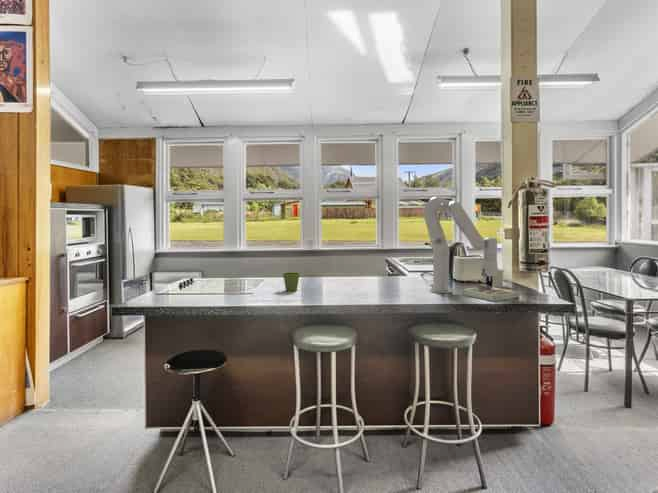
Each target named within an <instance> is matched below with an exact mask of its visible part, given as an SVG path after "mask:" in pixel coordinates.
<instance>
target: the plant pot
mask: <svg viewBox="0 0 658 493" xmlns="http://www.w3.org/2000/svg"><path fill="white" fill-rule="evenodd" d="M300 275H301V273H300V272H290V271H289V272H283V273H282V276H283V281H284V286H285V287H284V288H285V291H286V292H294V291H295V292H296V291H298V288H299V287H298V284H299V279H300Z"/></svg>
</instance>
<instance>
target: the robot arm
mask: <svg viewBox="0 0 658 493" xmlns="http://www.w3.org/2000/svg"><path fill="white" fill-rule="evenodd" d="M439 212H440V213H445V214H448V215H450V217H451V218H452V220H453V221H454V223H455V224H456V226H457V227H458V229H459V230H460V231H461V232H462V233H463V234H464V236H465V237H466V238H467V240H468V242H469V243H470V246H471V247H472V248H473V249H474V250H476V251H481V250H482V249H483V260H482V262H481V269H480V275H481V276H482V278H483V279H485V281H486V282H485V283H486V284H485V285H490V286H491V288H493V287H492V283H493V279H494V278H495V277H496V275H497V272H498V269H499V268H498V260H497V258H498V239H497V238H496V237H482V234H481V233H480V231H479V230H478V229H477V228H476V226H475V225H474V222H473V221H472V219H471V218H470V217H469V215H468V214H467V212H466V210H465V209H464V207H463V206H462V204H461V203H460V202H458V201H456V200H455V201H454V200H449V199H444V198H441V197H439V196H434V197H431V198H430V199H429V200H428V201H427V202H426V203H425V206H424V209H423V218H424V221H425V225H426V228H427V231H428V232H427V233H428V236H429V240H430V242H431V245H432V246H431V247H432V249H433V252H432V254H433V256H432V257H433V258H432V282H431V283H430V284H429V285H428V286H429V287H431V288H430V289H429V290H430V292H431V293H436V294H449V293H451V291H452V290H451V289H449V274H450V273H449V272H450V270H449V268H450V266H449V265H450V261H449V260H450V246H449V244H448V241H447V238H446V235H445V232H444V229H443V227H442V225H441V224H442V223H441V220H440V218H439V214H438V213H439Z"/></svg>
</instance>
